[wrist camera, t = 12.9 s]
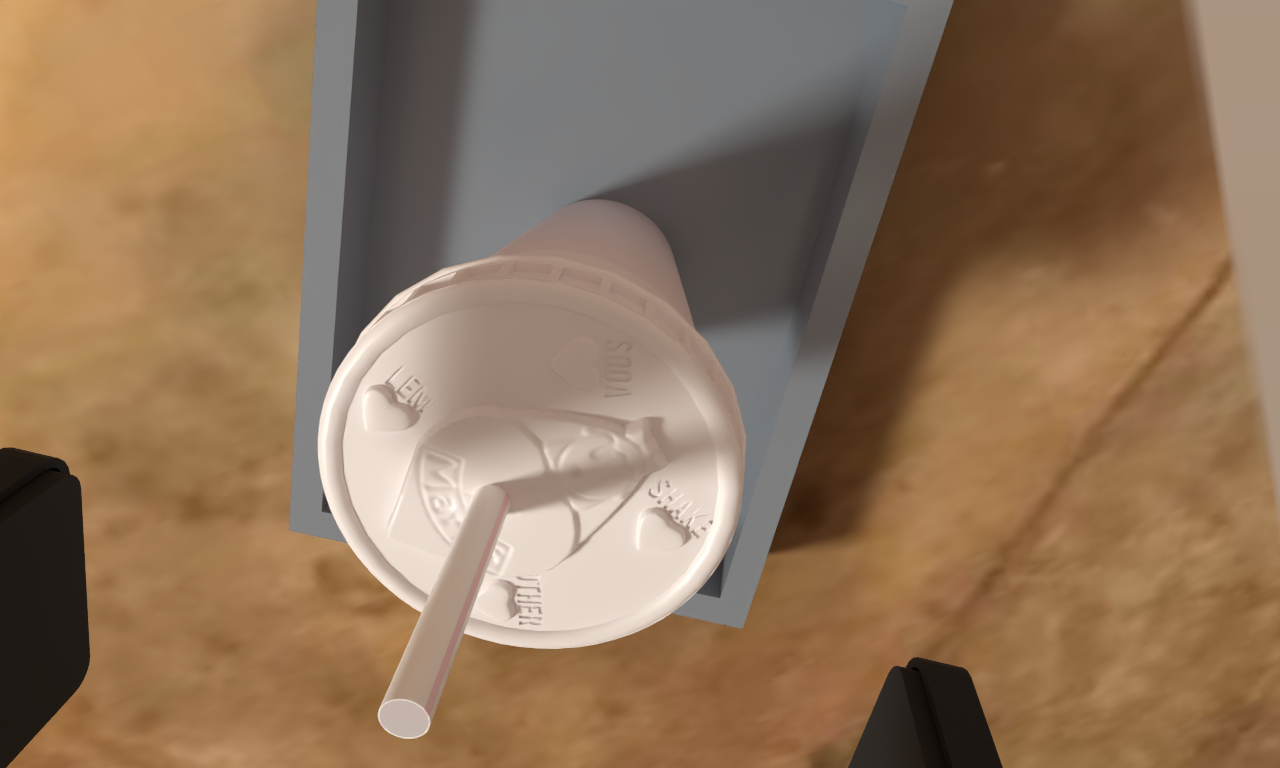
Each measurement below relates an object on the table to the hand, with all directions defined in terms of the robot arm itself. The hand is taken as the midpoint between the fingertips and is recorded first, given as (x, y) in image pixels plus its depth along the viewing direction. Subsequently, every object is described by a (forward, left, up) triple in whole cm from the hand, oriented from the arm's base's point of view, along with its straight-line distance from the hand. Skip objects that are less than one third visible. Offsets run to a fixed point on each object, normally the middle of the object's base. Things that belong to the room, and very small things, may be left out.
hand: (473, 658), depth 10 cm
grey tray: (0, 0, -14) cm, 14 cm away
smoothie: (0, 0, -13) cm, 13 cm away
